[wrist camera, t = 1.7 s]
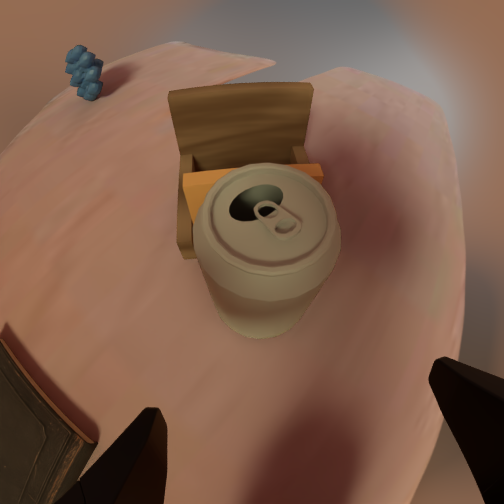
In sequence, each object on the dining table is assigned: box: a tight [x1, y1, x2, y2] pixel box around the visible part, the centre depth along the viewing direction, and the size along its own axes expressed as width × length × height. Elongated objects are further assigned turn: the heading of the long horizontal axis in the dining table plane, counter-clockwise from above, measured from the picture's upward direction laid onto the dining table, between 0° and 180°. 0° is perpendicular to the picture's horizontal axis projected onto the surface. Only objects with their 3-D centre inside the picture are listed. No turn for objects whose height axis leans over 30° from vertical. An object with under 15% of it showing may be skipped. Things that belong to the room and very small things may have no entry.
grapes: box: [65, 45, 103, 101], centre depth 34 cm, size 12×7×12 cm, turn 54°
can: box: [193, 163, 341, 339], centre depth 18 cm, size 8×8×12 cm
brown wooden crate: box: [168, 82, 314, 259], centre depth 23 cm, size 11×12×10 cm
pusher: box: [183, 164, 324, 225], centre depth 22 cm, size 1×9×8 cm, turn 96°
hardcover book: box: [0, 339, 98, 504], centre depth 13 cm, size 16×23×2 cm
